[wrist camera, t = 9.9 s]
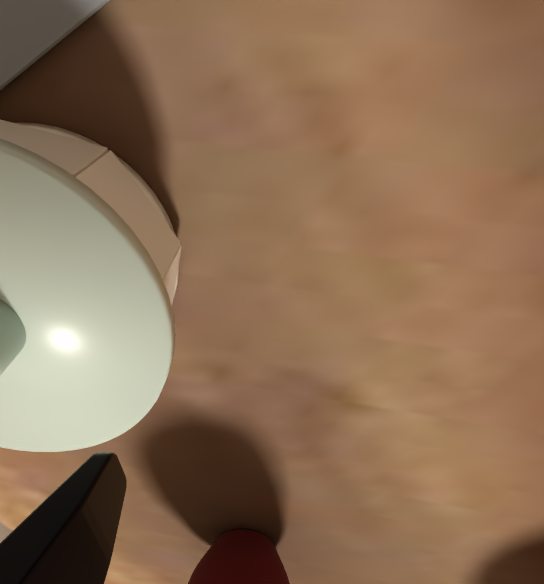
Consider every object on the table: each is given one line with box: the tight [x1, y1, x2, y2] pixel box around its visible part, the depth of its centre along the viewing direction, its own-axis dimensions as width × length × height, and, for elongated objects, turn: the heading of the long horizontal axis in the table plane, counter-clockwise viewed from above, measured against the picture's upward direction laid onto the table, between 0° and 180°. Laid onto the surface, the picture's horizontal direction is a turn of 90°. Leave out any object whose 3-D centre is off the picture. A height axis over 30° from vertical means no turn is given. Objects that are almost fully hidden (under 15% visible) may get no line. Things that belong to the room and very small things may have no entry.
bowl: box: [0, 120, 181, 307], centre depth 19 cm, size 11×11×5 cm
